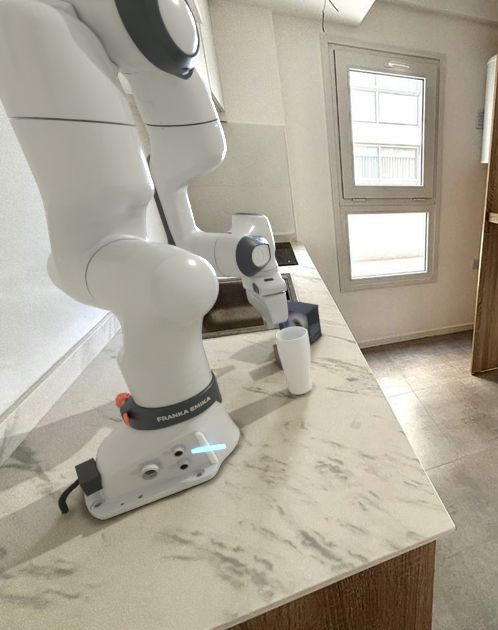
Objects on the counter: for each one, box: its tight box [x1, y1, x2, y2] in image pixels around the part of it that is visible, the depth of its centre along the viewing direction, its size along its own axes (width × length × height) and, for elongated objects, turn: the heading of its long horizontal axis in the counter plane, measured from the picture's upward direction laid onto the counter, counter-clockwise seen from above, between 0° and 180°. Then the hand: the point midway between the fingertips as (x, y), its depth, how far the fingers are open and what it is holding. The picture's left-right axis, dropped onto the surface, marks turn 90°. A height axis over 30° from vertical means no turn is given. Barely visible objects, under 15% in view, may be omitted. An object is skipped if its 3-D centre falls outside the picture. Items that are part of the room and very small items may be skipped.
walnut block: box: [272, 343, 283, 369], centre depth 87 cm, size 5×5×5 cm
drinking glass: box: [274, 326, 313, 396], centre depth 75 cm, size 7×7×15 cm
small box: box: [278, 299, 323, 345], centre depth 98 cm, size 11×6×10 cm, turn 73°
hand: (269, 327), depth 90 cm, fingers closed
